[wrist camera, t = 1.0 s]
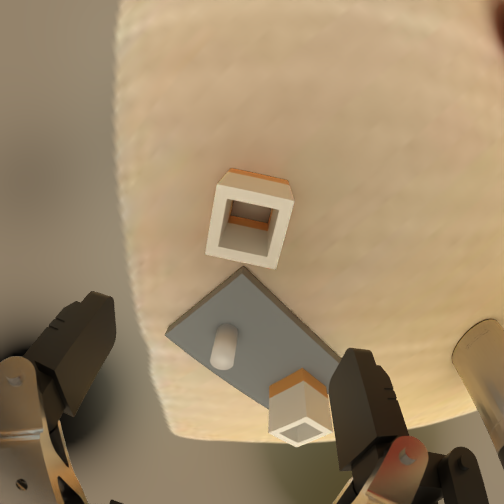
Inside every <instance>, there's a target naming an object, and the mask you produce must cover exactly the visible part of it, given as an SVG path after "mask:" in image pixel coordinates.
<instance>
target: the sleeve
mask: <svg viewBox="0 0 504 504" xmlns="http://www.w3.org/2000/svg"><path fill="white" fill-rule="evenodd" d="M234 200H236V201H241V202H245V203H250V204H254V205H259V206H264V207H268V208H272V209H271V213H270V217H269V221H268V223H264V222H260V221H255V220H250V219H246V218H241V217H236V216H232V215H231V211H232V206H233V201H234ZM293 205H294V198H293V195H292V192H291V188H290V185H289V182H288V180H284V179H279V178H275V177H271V176H266V175H262V174H257V173H253V172H248V171H243V170H238V169H233V168H230V169H229V170H228V172H227V173H226V174H225V175H224V176H223V178H222V179H221V180H220V181H219V182H218V183H217V186H216V192H215V197H214V203H213V209H212V215H211V221H210V227H209V233H208V239H207V245H206V251H205V255H210V256H214V257H219V258H223V259H228V260H233V261H237V262H242V263H247V264H251V265H256V266H261V267H266V268H270V269H275V270H276V268H277V264H278V260H279V257H280V253H281V250H282V246H283V242H284V239H285V235H286V231H287V228H288V224H289V220H290V216H291V213H292V209H293Z"/></svg>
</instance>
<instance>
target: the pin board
mask: <svg viewBox="0 0 504 504" xmlns="http://www.w3.org/2000/svg"><path fill="white" fill-rule="evenodd" d="M165 336H166V337H167V338H169V339H170V340H171V341H172V342H174V343H175V344H176V345H177V346H179V347H180V348H181V349H182V350H184V351H185V352H186V353H188V354H189V355H190V356H192V357H193V358H194V359H196V360H197V361H198V362H200V363H201V364H202V365H204V366H205V367H206V368H208V369H209V370H211V371H212V372H213V373H215V374H216V375H218V376H219V377H220V378H222V379H223V380H225V381H226V382H228V383H229V384H230V385H232V386H233V387H235V388H236V389H238V390H239V391H241V392H242V393H244V394H245V395H247V396H248V397H250V398H251V399H253V400H255V401H256V402H258V403H259V404H261V405H262V406H264V407H266V408H267V409H269V427H268V433H269V434H271V435H273V436H275V437H277V438H279V439H281V440H283V441H285V442H287V443H289V444H291V445H293V446H295V447H298V446H301V445H304V444H306V443H309V442H311V441H314V440H316V439H318V438H321V437H323V436H326V435H328V434H330V433H332V432H333V428H332V421H331V415H330V408H329V401H328V395H327V394H329V383H330V379H331V377H332V375H333V373H334V372H335V370H336V368H337V366H338V365H339V363H340V361H341V358H340V357H339V356H338V355H337V354H336V353H335V352H334V351H332V350H331V349H330V348H329V347H328V346H327V345H326V344H325V343H324V342H323V341H322V340H321V339H320V338H319V337H318V336H316V335H315V334H314V333H313V332H312V331H311V330H310V329H309V328H308V327H307V326H306V325H305V324H304V323H303V322H302V321H301V320H300V319H298V318H297V317H296V316H295V315H294V314H293V313H292V312H291V311H290V310H289V309H288V308H287V307H286V306H285V305H284V304H283V303H282V302H281V301H280V300H278V299H277V298H276V297H275V296H274V295H273V294H272V293H271V292H270V291H269V290H268V289H267V288H266V287H265V286H264V285H263V284H262V283H261V282H260V281H259V280H258V279H257V278H256V277H254V276H253V275H252V274H251V273H250V272H249V271H248V270H247V269H246V268H245V267H244V266H243V267H242V268H240V269H239V270H238V271H237V272H235V273H234V274H233V275H232V276H231V277H229V278H228V279H227V280H226V281H224V282H223V283H222V284H221V285H219V286H218V287H217V288H216V289H215V290H213V291H212V292H211V293H210V294H208V295H207V296H206V297H205V298H204V299H202V300H201V301H200V302H199V303H197V304H196V305H195V306H194V307H192V308H191V309H190V310H189V311H188V312H186V313H185V314H184V315H183V316H181V317H180V318H179V319H178V320H176V321H175V322H174V323H173V324H172V325H170V326H169V327H168V329H167V331H166V333H165Z"/></svg>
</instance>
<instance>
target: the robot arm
mask: <svg viewBox="0 0 504 504" xmlns="http://www.w3.org/2000/svg"><path fill="white" fill-rule="evenodd" d="M115 338H116V323H115V312H114V300H113V298H112V297H111V296H107V295H104V294H101V293H98V292H94V291H91V292H90V293H89V294H88V295H87V296H86V297H85V298H84V300H83V301H82V302H81V303H80V302H77V301H76V302H74V303H72V304H70V305H68V306H67V307H65V308H63V310H62V311H61V312H60V313H59V314H58V315H57V316H56V319H54V320H53V321H52V322H51V323H50V324H49V327H47V328H46V329H45V330H44V331H43V333H42V334H41V335H40V336H39V337H38V339H37V340H36V341H35V342H34V343H33V345H32V346H31V347H30V348H29V350H28V351H27V352H26V354H25V355H24V356H23V357H18V356H14V357H9V358H7V359H5V360H3V361H2V362H1V363H0V504H89V503H88V501H87V499H86V496H85V494H84V491H83V489H82V487H81V485H80V483H79V481H78V479H77V477H76V475H75V473H74V471H73V468H72V465H71V461H70V458H69V455H68V452H67V448H66V445H65V440H64V437H63V433H62V429H61V424H60V421H59V419H60V417H61V415H62V413H63V412H64V413H67V414H69V415H71V416H73V417H74V416H75V414H76V412H77V410H78V408H79V406H80V405H81V403H82V400H83V399H84V397H85V395H86V393H87V392H88V390H89V388H90V386H91V384H92V382H93V381H94V379H95V377H96V375H97V373H98V371H99V370H100V368H101V366H102V365H103V363H104V361H105V359H106V358H107V356H108V354H109V353H110V351H111V349H112V347H113V345H114V342H115ZM452 362H453V364H454V366H455V368H456V370H457V371H458V373H459V375H460V377H461V379H462V381H463V383H464V385H465V386H466V388H467V390H468V392H469V394H470V396H471V398H472V400H473V402H474V404H475V406H476V408H477V410H478V412H479V414H480V416H481V418H482V420H483V422H484V425H485V427H486V429H487V431H488V433H489V435H490V438H491V440H492V442H493V444H494V447H495V449H496V452H497V454H498V457H499V459H500V461H501V464H502V466H503V469H504V329H503V328H502V327H501V326H500V324H499V323H498V322H497V321H495V320H492V319H490V320H485V321H483V322H481V323H479V324H477V325H476V326H474V327H473V328H472V329H470V330H469V331H468V332H467V333H466V334H465V335H464V336H463V338H462V339H461V340H460V341H459V343H458V344H457V346H456V348H455V350H454V352H453V356H452ZM396 398H397V397H396V394H395V392H394V391H393V386H392V383H391V380H390V378H389V376H388V375H387V373H386V372H385V371H384V370H383V368H382V367H381V366H378V365H376V363H375V360H374V357H373V354H372V352H371V351H370V350H364V349H356V348H349V349H347V351H346V352H345V354H344V356H343V358H342V359H341V361H340V363H339V365H338V366H337V368H336V370H335V372H334V373H333V375H332V377H331V379H330V383H329V399H330V405H331V411H332V418H333V425H334V431H335V438H336V445H337V453H338V461H339V468H340V471H352V475H353V477H352V478H351V479H350V480H349V481H348V483H347V484H346V485H345V487H344V488H343V490H342V491H341V492H340V494H339V495H338V497H337V498H336V500H335V501H334V502H333V503H332V504H438V501H439V500H441V499H442V498H444V503H445V504H489V502H488V498H487V494H486V490H485V487H484V482H483V479H482V476H481V472H480V469H479V466H478V462H477V459H476V457H475V455H474V454H473V453H472V452H471V451H470V450H469V449H467V448H465V447H457V448H454V449H453V450H452V451H451V452H450V453H448V454H447V455H442V454H437V453H431V452H427V449H426V447H425V446H424V444H423V443H422V442H421V441H420V440H418V439H417V438H414V437H412V436H409V434H408V431H407V427H406V424H405V421H404V418H403V415H402V412H401V409H400V406H399V403H398V400H396ZM110 504H122V503H119V502H117V501H114V500H111V501H110Z"/></svg>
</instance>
